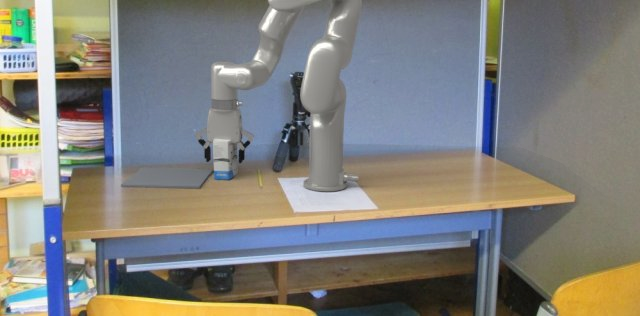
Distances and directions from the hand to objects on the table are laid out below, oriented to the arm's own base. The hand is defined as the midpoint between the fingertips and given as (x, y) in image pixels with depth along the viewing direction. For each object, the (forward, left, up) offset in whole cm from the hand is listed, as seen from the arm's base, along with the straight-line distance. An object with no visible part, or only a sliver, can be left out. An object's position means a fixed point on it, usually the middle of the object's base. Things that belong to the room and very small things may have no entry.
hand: (224, 161), depth 194 cm
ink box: (0, 0, -5) cm, 5 cm away
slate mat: (+16, +4, -5) cm, 17 cm away
